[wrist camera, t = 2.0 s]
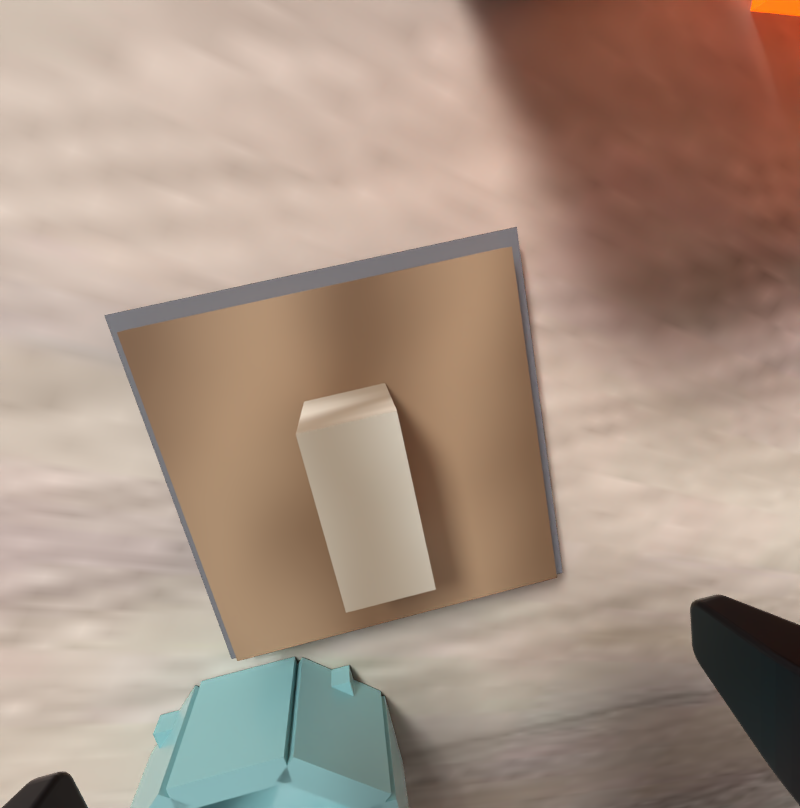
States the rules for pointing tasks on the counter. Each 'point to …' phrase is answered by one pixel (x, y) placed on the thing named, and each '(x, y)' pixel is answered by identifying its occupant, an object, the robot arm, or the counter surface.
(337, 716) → the bowl
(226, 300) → the mat
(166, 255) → the counter surface
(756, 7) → the orange juice
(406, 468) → the lid
